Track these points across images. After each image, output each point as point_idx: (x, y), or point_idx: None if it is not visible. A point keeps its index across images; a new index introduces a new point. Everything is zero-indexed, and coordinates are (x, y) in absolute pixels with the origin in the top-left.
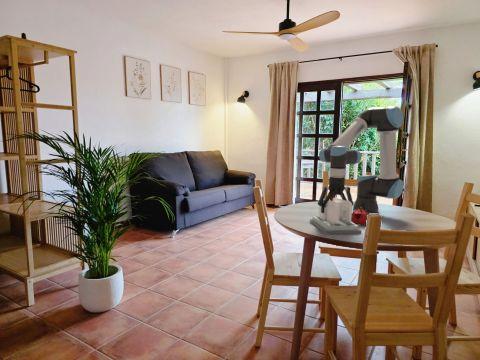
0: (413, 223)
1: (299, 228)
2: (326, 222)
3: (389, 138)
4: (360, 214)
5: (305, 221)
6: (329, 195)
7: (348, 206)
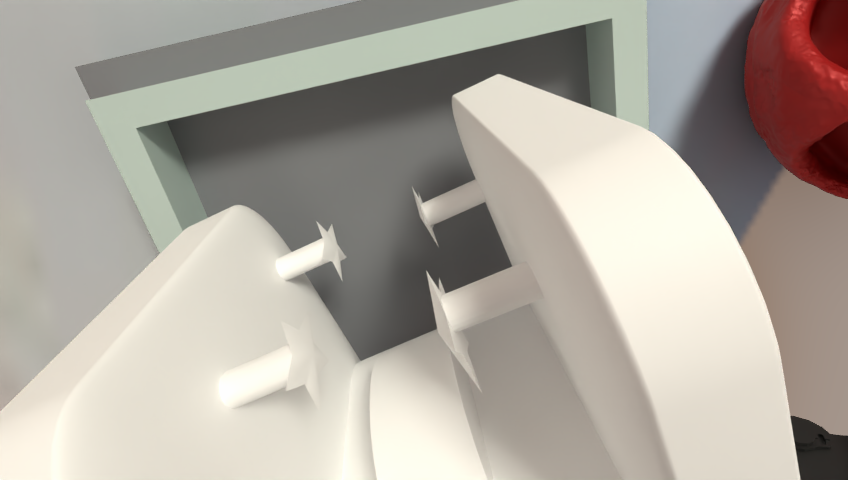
0: None
1: (17, 390)
2: (340, 226)
3: None
4: None
5: (22, 46)
6: None
7: None
